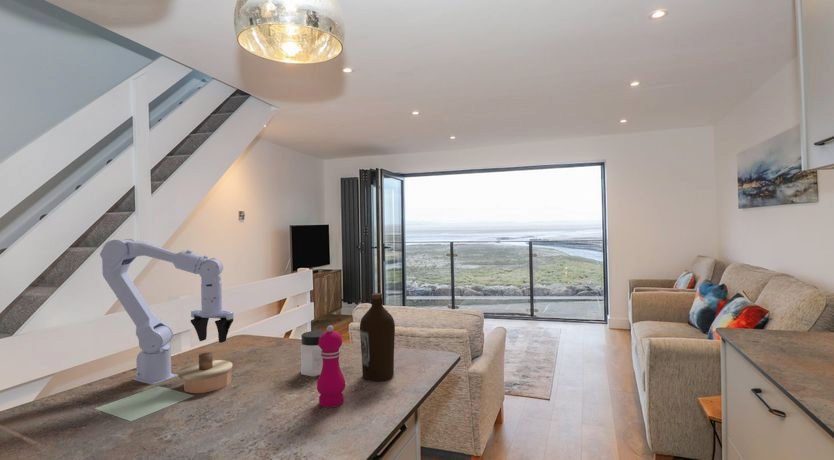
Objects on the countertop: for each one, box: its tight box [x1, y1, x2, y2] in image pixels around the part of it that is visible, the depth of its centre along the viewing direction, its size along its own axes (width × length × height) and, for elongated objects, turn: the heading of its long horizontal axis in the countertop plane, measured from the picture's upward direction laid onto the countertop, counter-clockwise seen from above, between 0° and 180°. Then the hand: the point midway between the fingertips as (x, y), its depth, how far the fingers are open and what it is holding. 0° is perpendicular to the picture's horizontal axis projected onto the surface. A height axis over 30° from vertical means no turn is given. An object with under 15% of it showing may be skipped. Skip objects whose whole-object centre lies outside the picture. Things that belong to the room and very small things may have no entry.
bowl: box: [183, 369, 232, 394], centre depth 119 cm, size 12×12×4 cm
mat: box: [94, 385, 195, 422], centre depth 108 cm, size 16×16×1 cm
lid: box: [177, 351, 233, 380], centre depth 119 cm, size 14×14×5 cm
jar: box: [300, 330, 327, 378], centre depth 129 cm, size 9×8×12 cm
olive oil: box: [359, 292, 396, 382], centre depth 125 cm, size 11×11×25 cm
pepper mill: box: [316, 324, 346, 408], centre depth 107 cm, size 7×7×20 cm
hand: (212, 341), depth 128 cm, fingers open, 7 cm apart
